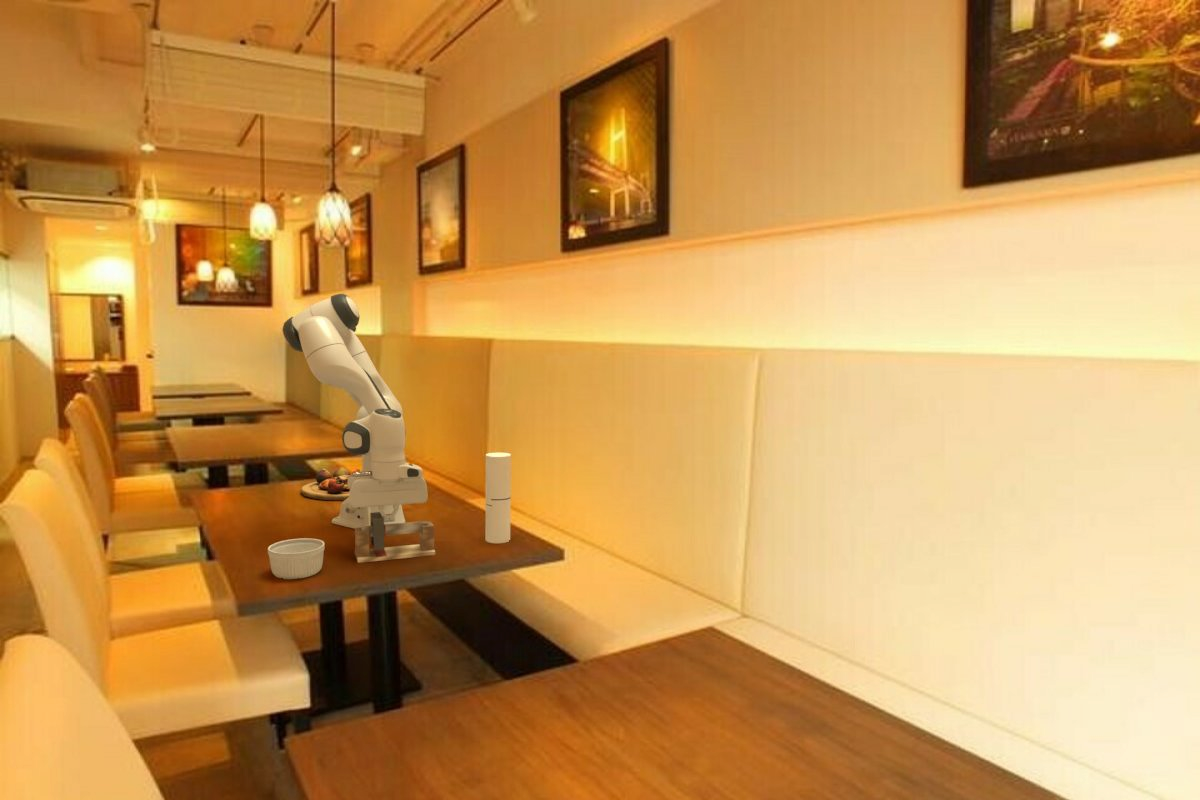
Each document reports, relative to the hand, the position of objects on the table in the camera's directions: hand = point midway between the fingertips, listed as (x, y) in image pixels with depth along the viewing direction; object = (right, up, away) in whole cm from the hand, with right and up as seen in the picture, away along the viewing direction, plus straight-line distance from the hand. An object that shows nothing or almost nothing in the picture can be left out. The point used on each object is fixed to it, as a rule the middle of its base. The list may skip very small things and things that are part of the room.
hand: (389, 521), depth 204 cm
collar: (-3, -6, -1) cm, 7 cm away
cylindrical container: (+27, -8, +17) cm, 33 cm away
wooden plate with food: (-36, -2, +75) cm, 83 cm away
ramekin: (-19, -11, -14) cm, 26 cm away
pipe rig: (+1, -9, +2) cm, 9 cm away
